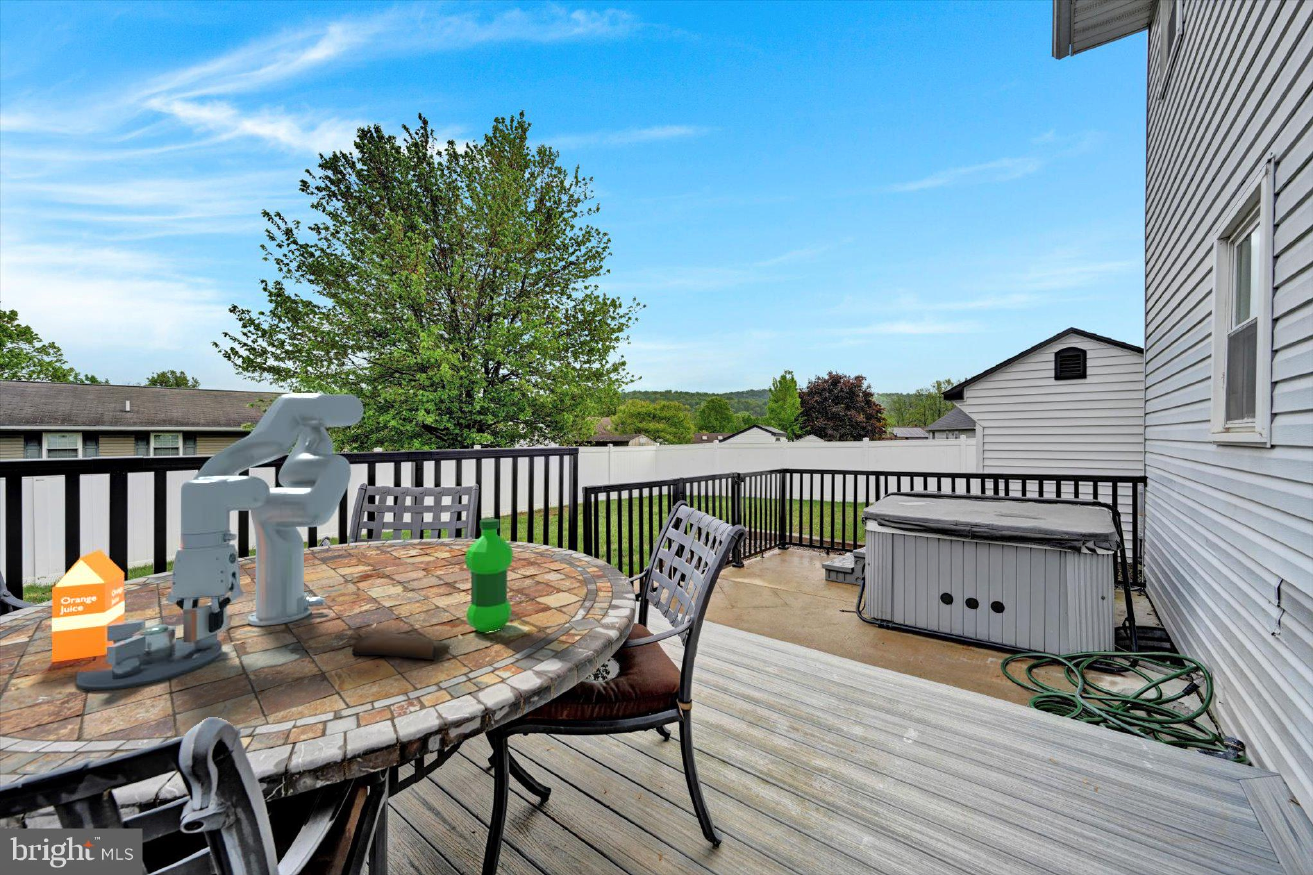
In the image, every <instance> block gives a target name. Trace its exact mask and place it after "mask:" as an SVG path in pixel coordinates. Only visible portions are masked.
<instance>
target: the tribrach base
mask: <svg viewBox="0 0 1313 875" xmlns="http://www.w3.org/2000/svg"><path fill="white" fill-rule="evenodd" d="M176 632H177V631H176V626H172V625H168V624H157V625H153V626H147V627H146V619H141V620H131V621H124V622H121V623H112V624H110V625H108V626H107V642H109V641H113V645H110V646H107V654H106V655H104V656H103V657H100V658H98V659H95V660H93V661H91V662H89V663H87V664H86V665H85V666H82V667H81V668H80V669H79V670H78V671H77V674H76V685H77V687H79V688H80V689H82V690H87V691H97V692H98V691H116V690H122V689H123V690H124V689H131V688H137V687H143V686H146V685H152V684H156V683H160V682H163V681H166V680H167V681H168V680H171V679H174V678H177V677H180V676H181V677H182V676H184V675H187V674H189V673H190V674H191V673H192V672H194V671H197V670H199V669H202V668H204V667H206V666H208V665H210V664H211V663H213V662H215V661H217V659H218V658H220V657H221V655H222V653H223V643H222V642H221V641H220V640H219V639H217V644H216V645H214V646H212V647H208V648H204V649H195V648H194V642H192V643H188V642H183V638H177V639H176V637H177V636H176ZM214 660H215V661H214ZM209 663H210V664H209Z"/></svg>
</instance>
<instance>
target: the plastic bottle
mask: <svg viewBox="0 0 1313 875" xmlns="http://www.w3.org/2000/svg"><path fill="white" fill-rule="evenodd" d="M499 528H500V519H496V518H487V519H486V518H485V519H481V520H479V529H480V530H481V531H482V532H481V534H482V535H481V536H480V537H479V538H477V540H476V541H474V543H473V544H471V546H469V547H468V549H467V550H466V553H465V556H464V560H465V566H466V568H467V569H468V570H469V571H470V574H471V577H470V579H471V581H470V582H471V584H470V587H471V588H470V591H471V592H470V594H471V595H470V596H471V598H470V602H471V603H470V605H469V607H468V610H467V611H466V619H467V622H468V624H469V625H470V627H472V628H473V629H475V630H476V631H477V630H478V631H481V632H489V631H495V630H498V629H500V628H501V629H502V628H503V627H504V626H506V624H508V623H509V622H508V621H509V619H510V617H511V613H512V605H511V602H510V601H509V599H508V569H509V567H511V564H512V562H513V557H514V551H513V548H512V545H511V544H509V543H508V542H507V541H506V540H505V539H503V538H502V537H500V536H499V535H498V534H497V533H498V532H497V531H498V529H499ZM501 629H500V630H501ZM478 631H477V632H478Z"/></svg>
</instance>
